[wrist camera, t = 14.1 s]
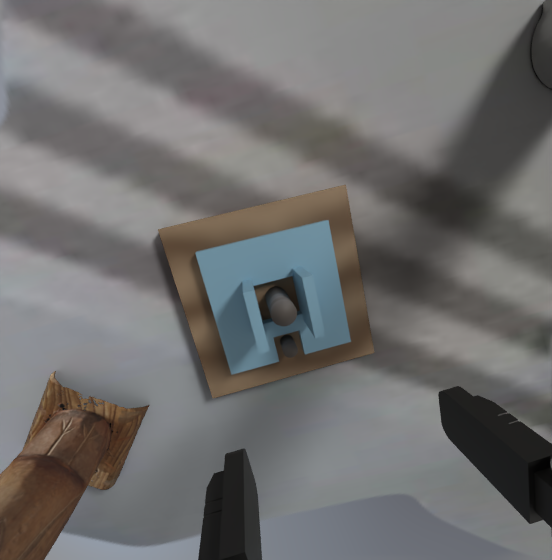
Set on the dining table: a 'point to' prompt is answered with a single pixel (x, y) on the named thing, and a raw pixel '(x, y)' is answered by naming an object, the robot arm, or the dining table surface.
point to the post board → (268, 286)
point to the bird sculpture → (61, 467)
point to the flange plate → (265, 268)
